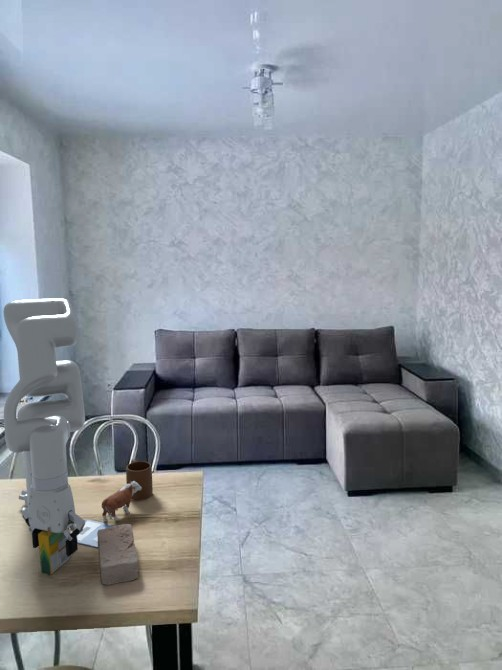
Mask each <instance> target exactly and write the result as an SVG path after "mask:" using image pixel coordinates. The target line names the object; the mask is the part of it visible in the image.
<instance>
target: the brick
mask: <svg viewBox="0 0 502 670" xmlns="http://www.w3.org/2000/svg"><path fill="white" fill-rule="evenodd" d="M97 536H98V548H97V549H98V561H99V568H100V578H101V583H102V584H103V585H105V586H107V585H115V584H118V583H124V582H131V581H133V580H136V579H137V578H138V577H139V571H140V570H139V566H140V565H139V557H138V556H139V555H138V550H137V548H136V544H135V538H134V531H133V527H132V524H130V523H125V524H118V525H115V526H112V527H110V528H105V529H101V530H98V532H97Z"/></svg>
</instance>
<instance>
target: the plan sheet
mask: <svg viewBox="0 0 502 670" xmlns="http://www.w3.org/2000/svg"><path fill="white" fill-rule="evenodd" d="M112 526H116V524H115V525H114V524H111V523H110V524H109V523H106V522H100V521H96V520H93V519H86V520H85V525H84V528H83V530H82V531H81V532H80V533H79V535H77V543H78V544H80V545H83V546H88V547H91V548H96V549H98V536H97V532H98V530H101V529H105V528H110V527H112ZM70 533H72V530H71V531H70Z"/></svg>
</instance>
